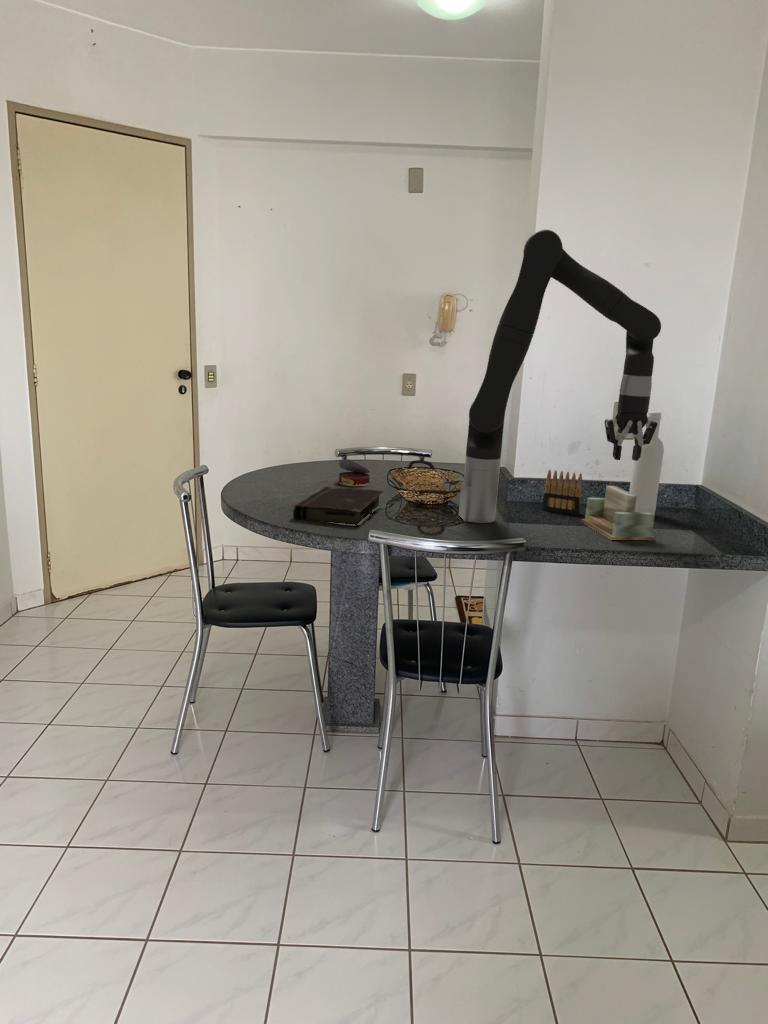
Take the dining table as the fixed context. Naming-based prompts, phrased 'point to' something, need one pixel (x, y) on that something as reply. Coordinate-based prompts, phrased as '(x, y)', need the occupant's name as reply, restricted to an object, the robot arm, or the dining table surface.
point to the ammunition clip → (571, 499)
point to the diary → (338, 505)
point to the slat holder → (619, 522)
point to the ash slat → (617, 502)
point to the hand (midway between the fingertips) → (626, 459)
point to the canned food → (353, 473)
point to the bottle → (648, 470)
